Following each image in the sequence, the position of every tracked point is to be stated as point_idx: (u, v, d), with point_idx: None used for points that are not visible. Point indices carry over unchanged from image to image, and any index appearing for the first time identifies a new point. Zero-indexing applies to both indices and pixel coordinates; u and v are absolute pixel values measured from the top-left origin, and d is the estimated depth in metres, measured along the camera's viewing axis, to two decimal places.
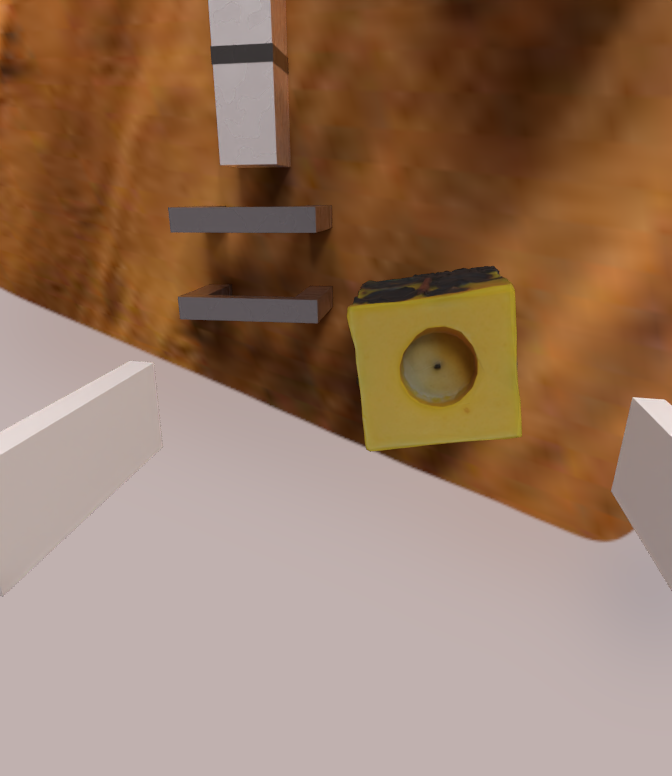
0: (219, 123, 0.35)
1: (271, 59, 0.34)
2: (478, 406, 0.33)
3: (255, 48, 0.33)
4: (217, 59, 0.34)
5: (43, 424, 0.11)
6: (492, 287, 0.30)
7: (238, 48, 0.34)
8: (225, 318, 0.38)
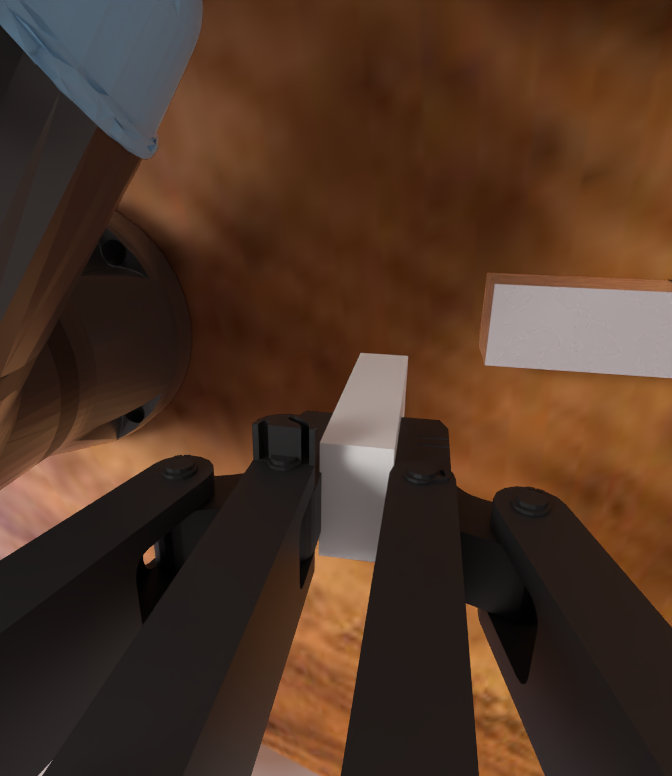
0: None
1: None
2: None
3: None
4: None
5: (361, 407, 0.12)
6: None
7: None
8: None
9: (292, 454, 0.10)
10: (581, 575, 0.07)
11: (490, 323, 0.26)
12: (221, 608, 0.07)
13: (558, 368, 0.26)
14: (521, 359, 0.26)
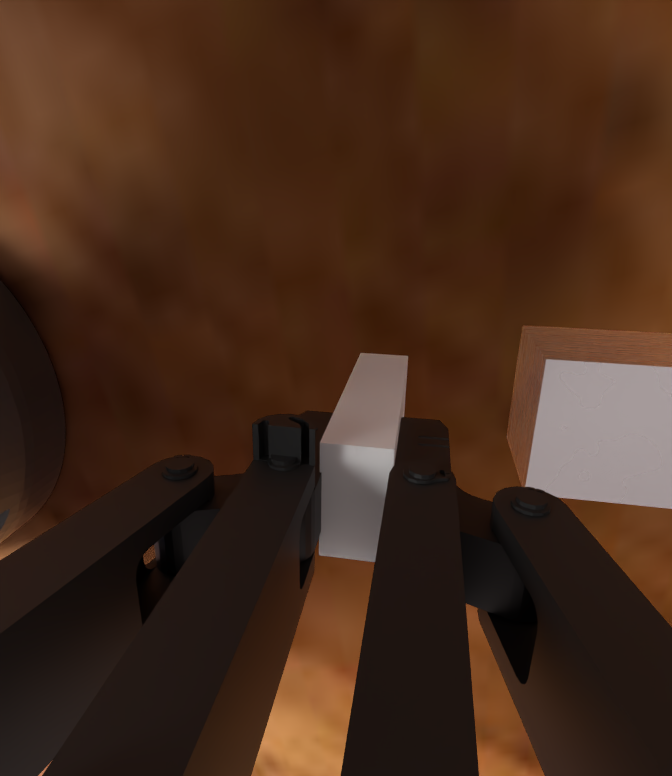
0: None
1: None
2: None
3: None
4: None
5: (361, 407, 0.12)
6: None
7: None
8: None
9: (292, 454, 0.10)
10: (581, 575, 0.07)
11: (535, 425, 0.14)
12: (220, 608, 0.07)
13: (656, 504, 0.15)
14: (589, 487, 0.15)
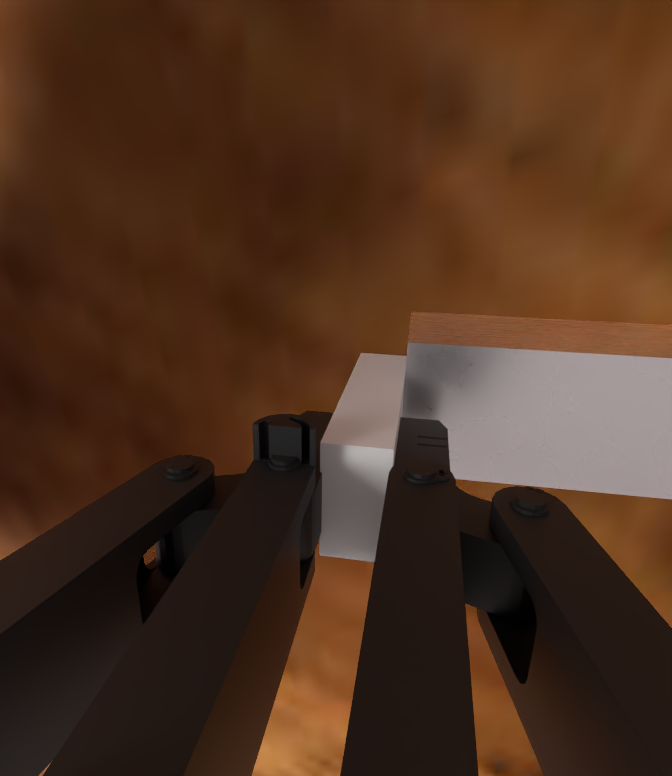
0: None
1: None
2: None
3: None
4: None
5: (362, 407, 0.12)
6: None
7: None
8: None
9: (292, 454, 0.10)
10: (580, 575, 0.07)
11: (404, 407, 0.15)
12: (221, 608, 0.07)
13: (521, 482, 0.15)
14: (458, 466, 0.15)
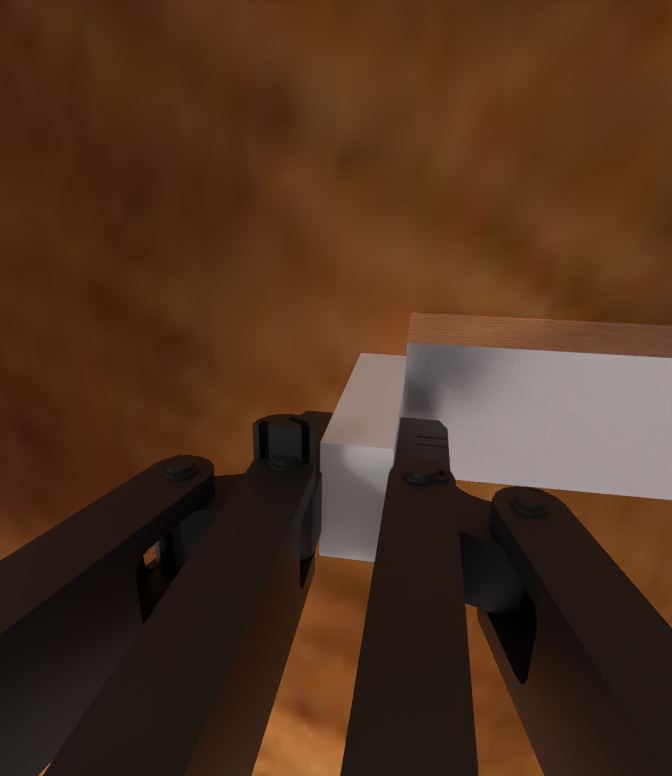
0: None
1: None
2: None
3: None
4: None
5: (362, 407, 0.12)
6: None
7: None
8: None
9: (292, 454, 0.10)
10: (580, 575, 0.07)
11: (404, 407, 0.15)
12: (221, 608, 0.07)
13: (521, 482, 0.15)
14: (458, 466, 0.15)
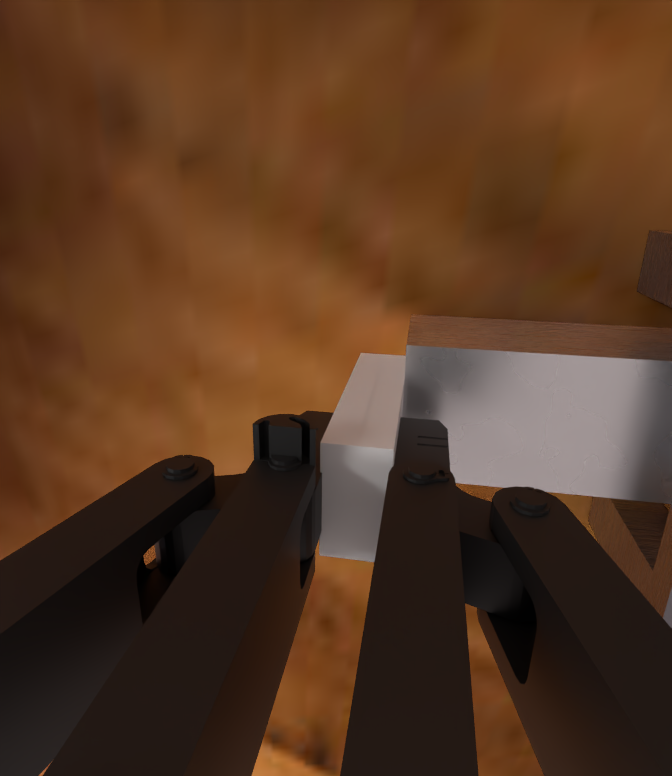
0: None
1: None
2: None
3: None
4: None
5: (362, 407, 0.12)
6: None
7: None
8: None
9: (292, 454, 0.10)
10: (580, 575, 0.07)
11: (403, 410, 0.15)
12: (221, 608, 0.07)
13: (521, 486, 0.15)
14: (458, 470, 0.15)
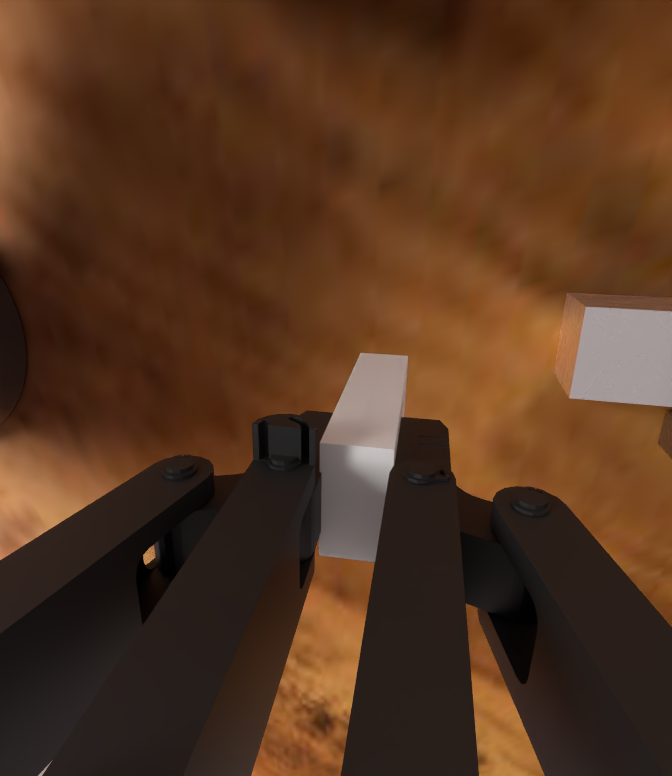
0: None
1: None
2: None
3: None
4: None
5: (361, 407, 0.12)
6: None
7: None
8: None
9: (292, 454, 0.10)
10: (581, 575, 0.07)
11: (578, 351, 0.22)
12: (221, 608, 0.07)
13: (656, 403, 0.22)
14: (613, 392, 0.23)
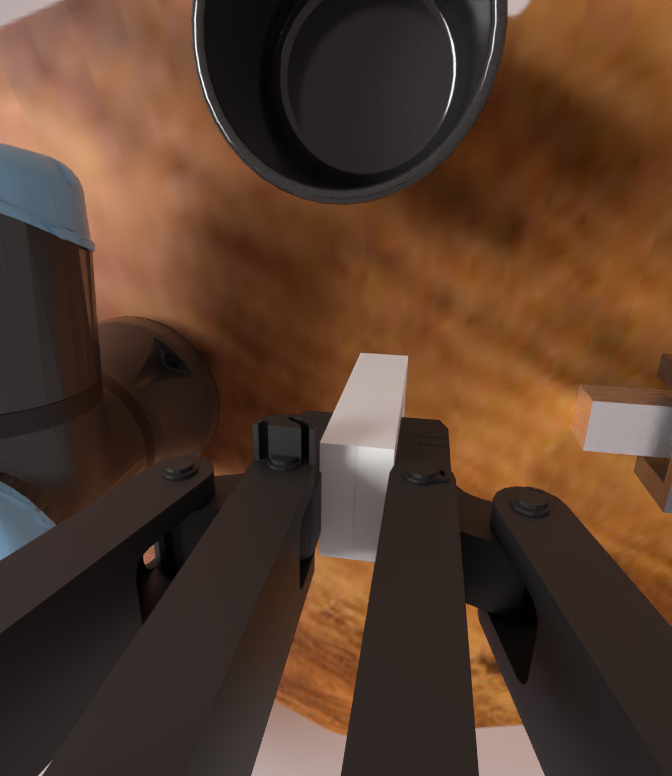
0: None
1: None
2: None
3: None
4: None
5: (361, 407, 0.12)
6: None
7: None
8: None
9: (292, 454, 0.10)
10: (581, 575, 0.07)
11: (588, 424, 0.39)
12: (220, 608, 0.07)
13: (632, 453, 0.39)
14: (608, 447, 0.39)
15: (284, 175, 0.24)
